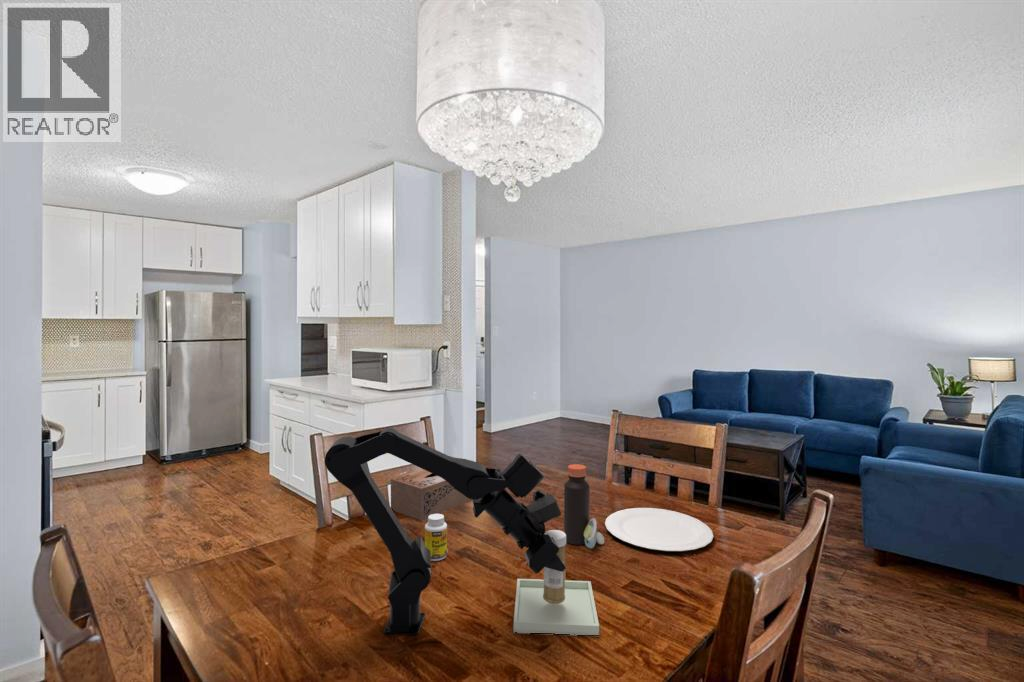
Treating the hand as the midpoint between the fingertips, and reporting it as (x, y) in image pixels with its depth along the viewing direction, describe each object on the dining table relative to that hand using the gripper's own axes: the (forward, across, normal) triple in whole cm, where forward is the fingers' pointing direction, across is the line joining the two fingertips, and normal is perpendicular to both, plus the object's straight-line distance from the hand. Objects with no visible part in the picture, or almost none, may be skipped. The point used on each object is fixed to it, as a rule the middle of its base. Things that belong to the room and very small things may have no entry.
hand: (560, 563), depth 100 cm
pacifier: (+14, +26, -7) cm, 30 cm away
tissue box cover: (-9, +64, +23) cm, 69 cm away
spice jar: (+4, 0, +6) cm, 7 cm away
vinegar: (+16, +30, -3) cm, 35 cm away
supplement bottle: (-10, +27, +24) cm, 38 cm away
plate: (+33, +32, -20) cm, 50 cm away
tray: (+6, 0, +7) cm, 9 cm away
